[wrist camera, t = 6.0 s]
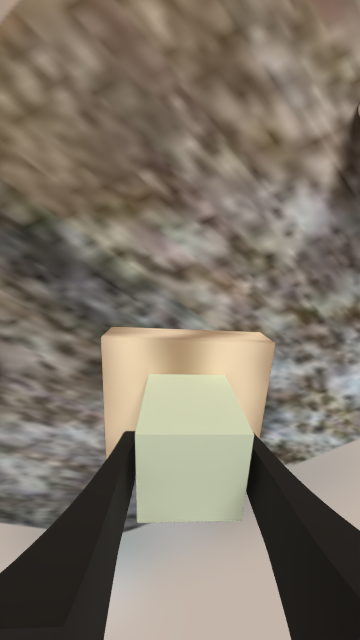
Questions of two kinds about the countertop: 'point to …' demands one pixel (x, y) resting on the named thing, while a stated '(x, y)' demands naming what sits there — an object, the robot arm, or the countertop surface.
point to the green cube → (191, 450)
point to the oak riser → (180, 369)
